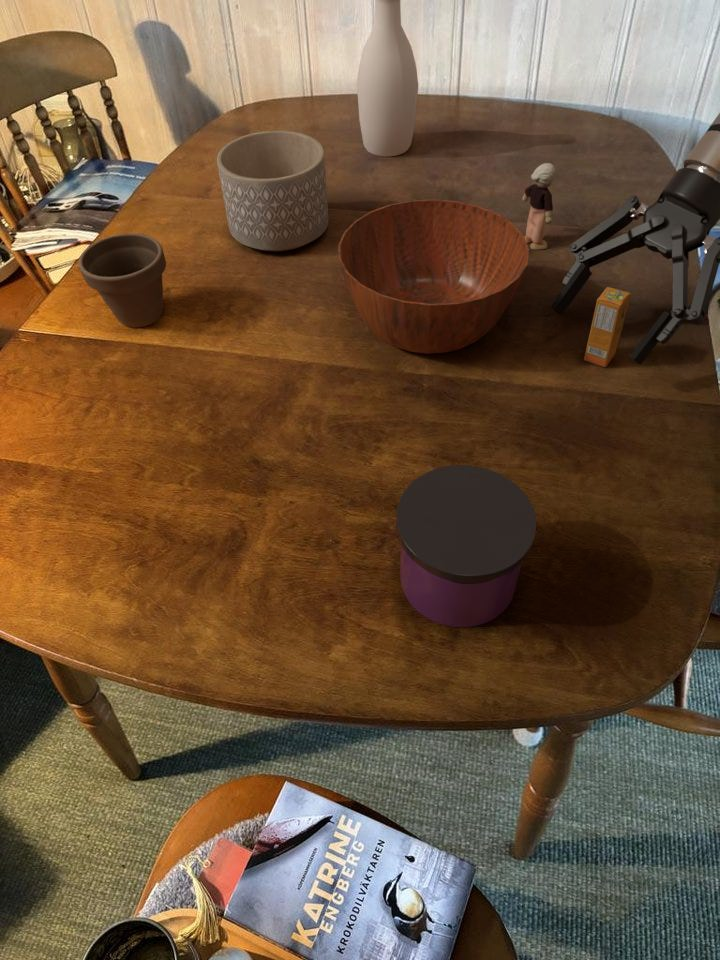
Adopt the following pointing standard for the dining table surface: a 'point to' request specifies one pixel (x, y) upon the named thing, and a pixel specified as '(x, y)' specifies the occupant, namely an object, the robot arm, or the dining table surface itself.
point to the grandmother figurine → (539, 205)
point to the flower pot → (127, 276)
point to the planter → (274, 189)
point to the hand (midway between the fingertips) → (593, 335)
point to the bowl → (432, 272)
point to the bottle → (387, 84)
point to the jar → (463, 543)
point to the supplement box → (606, 326)
